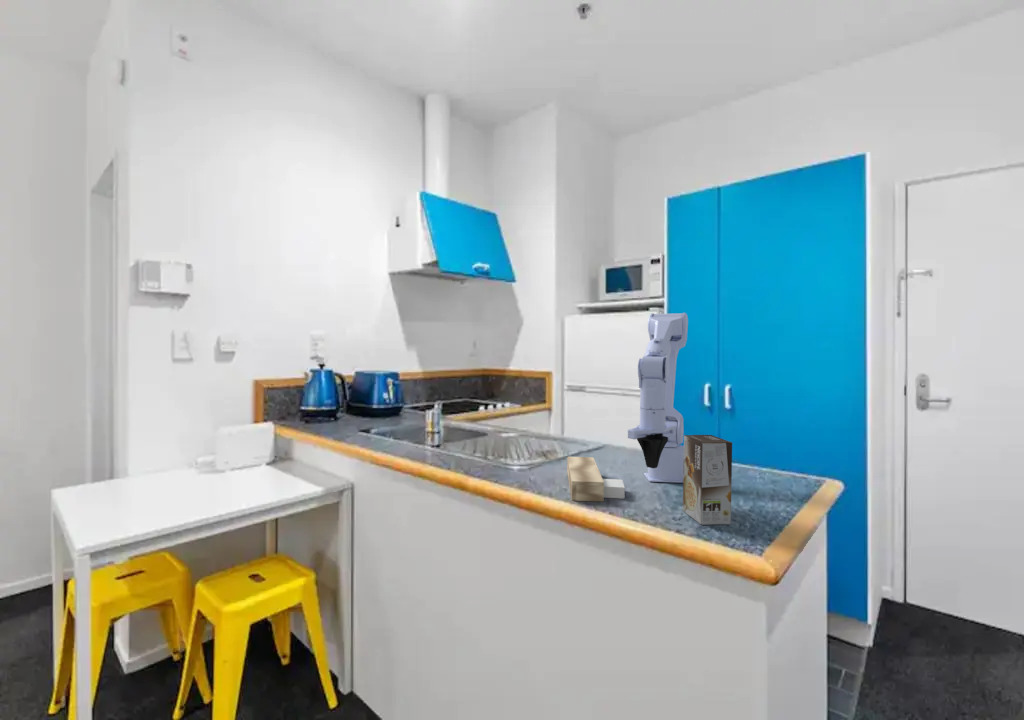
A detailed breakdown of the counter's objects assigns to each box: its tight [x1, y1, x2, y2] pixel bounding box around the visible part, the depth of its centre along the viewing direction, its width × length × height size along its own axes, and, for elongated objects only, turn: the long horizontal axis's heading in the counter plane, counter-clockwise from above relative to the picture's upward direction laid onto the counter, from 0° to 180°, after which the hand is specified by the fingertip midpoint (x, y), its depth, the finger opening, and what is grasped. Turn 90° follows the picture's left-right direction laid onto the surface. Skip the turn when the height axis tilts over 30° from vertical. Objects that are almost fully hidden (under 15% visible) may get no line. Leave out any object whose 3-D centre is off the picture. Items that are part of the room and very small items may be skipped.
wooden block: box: [566, 456, 605, 503], centre depth 125 cm, size 7×26×4 cm, turn 176°
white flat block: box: [602, 478, 626, 499], centre depth 118 cm, size 10×7×2 cm
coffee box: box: [682, 434, 733, 526], centre depth 102 cm, size 9×6×16 cm
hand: (651, 467), depth 117 cm, fingers closed
